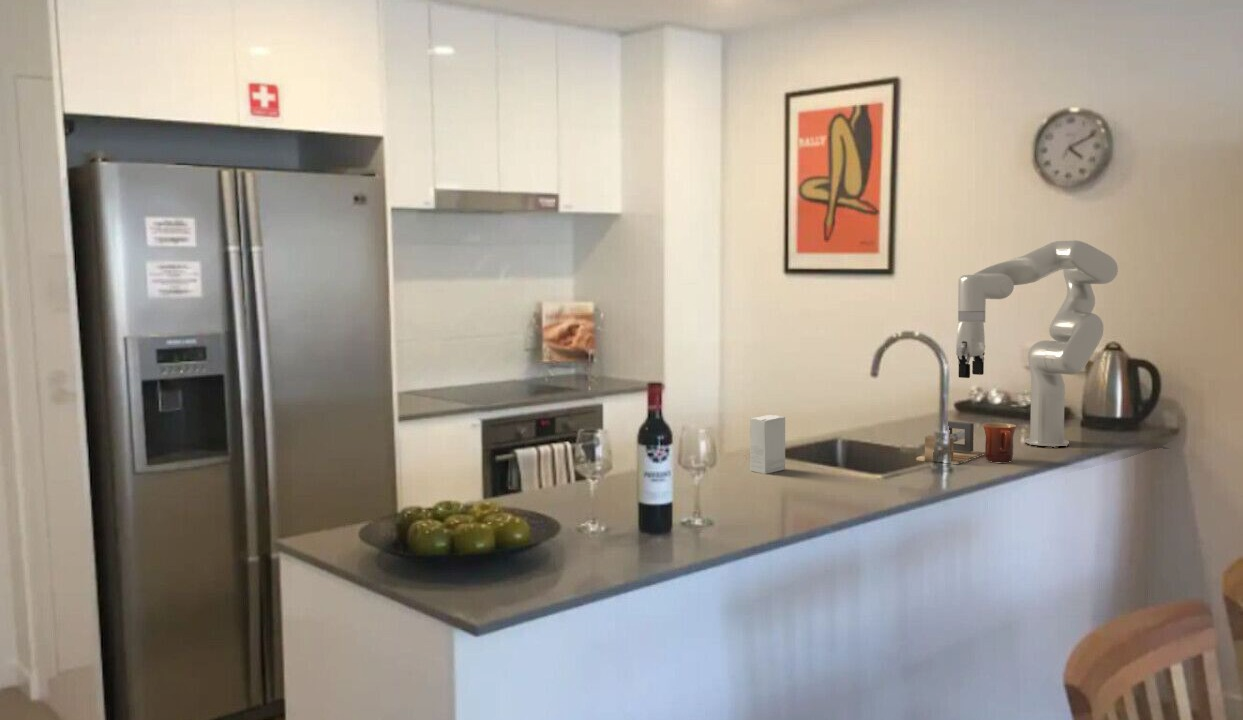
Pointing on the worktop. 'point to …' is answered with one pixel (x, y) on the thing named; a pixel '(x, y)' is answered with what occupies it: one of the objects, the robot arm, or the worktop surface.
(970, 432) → the gray square frame
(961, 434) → the pipe
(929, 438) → the board block
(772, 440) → the skincare box
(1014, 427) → the mug
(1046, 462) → the worktop surface
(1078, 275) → the robot arm
